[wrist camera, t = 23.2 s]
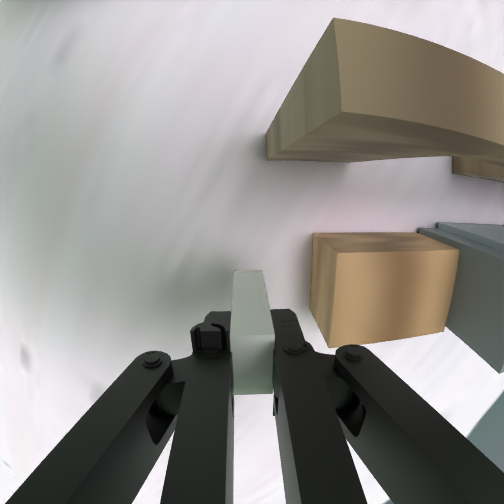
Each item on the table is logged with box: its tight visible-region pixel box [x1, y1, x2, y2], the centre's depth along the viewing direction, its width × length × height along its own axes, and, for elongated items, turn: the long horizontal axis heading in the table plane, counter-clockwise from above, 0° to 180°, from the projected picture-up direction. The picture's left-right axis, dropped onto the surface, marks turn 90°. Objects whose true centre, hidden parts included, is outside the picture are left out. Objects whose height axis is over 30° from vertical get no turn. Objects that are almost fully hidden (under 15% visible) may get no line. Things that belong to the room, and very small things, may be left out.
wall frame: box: [267, 18, 504, 183], centre depth 12 cm, size 28×2×16 cm, turn 91°
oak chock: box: [310, 233, 460, 348], centre depth 20 cm, size 9×6×6 cm, turn 91°
